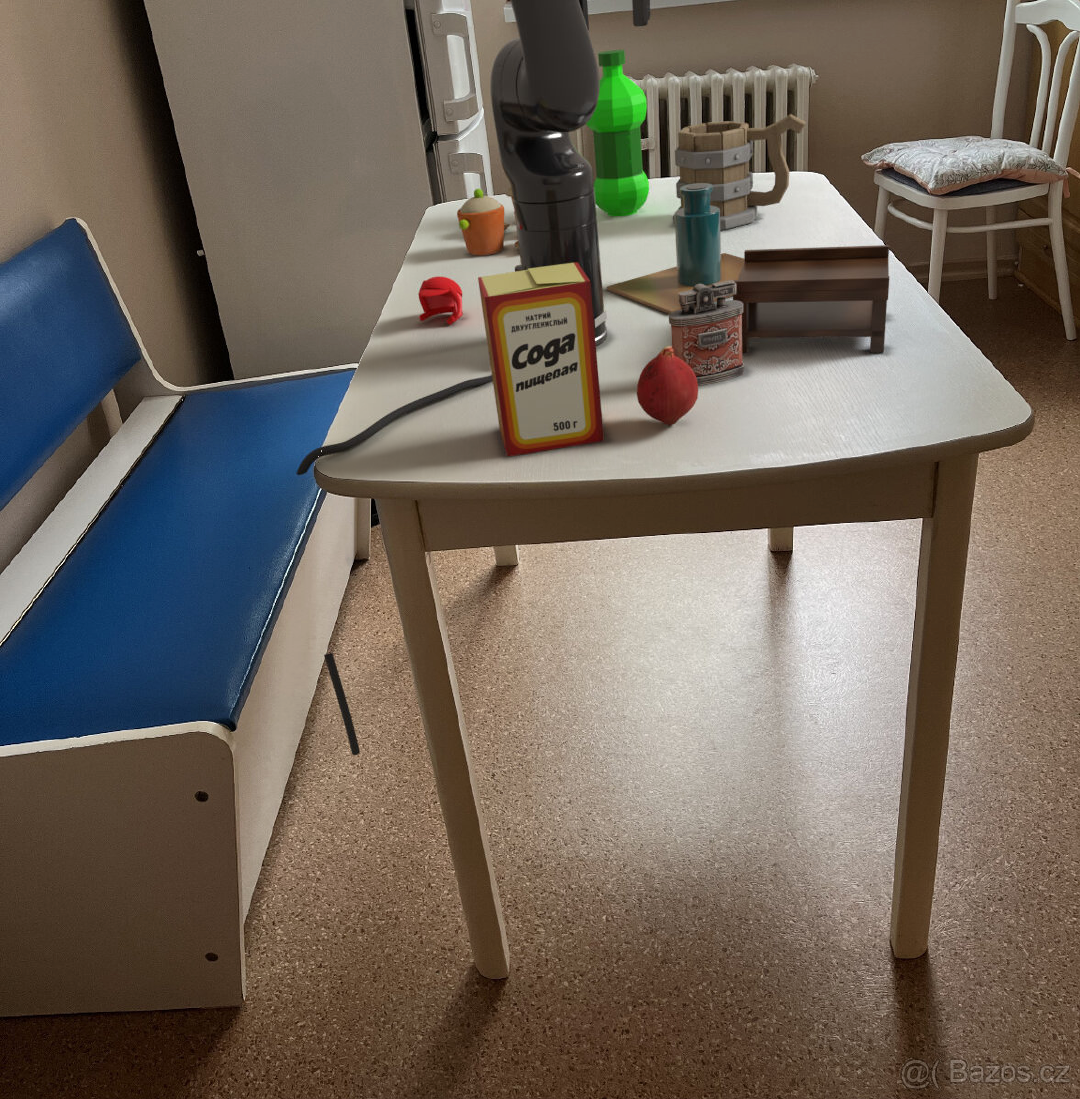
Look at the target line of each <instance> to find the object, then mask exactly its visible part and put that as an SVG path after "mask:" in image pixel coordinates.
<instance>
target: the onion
mask: <svg viewBox="0 0 1080 1099" xmlns="http://www.w3.org/2000/svg"><path fill="white" fill-rule="evenodd" d="M673 352H674V350H673V348H672V345H667V346H666V345H665V346H664V347H663V348H662V349H661V351H660V352H659V353H658V354H657V355H656V356H655V357H653V358H652V359H651V360H650V361H648V363H647V364H646V365H645V366H644V367H643V369H642V371H641V372H640V374H639V377H638V380H637V385H636V386H637V387H636V397H637V402H638V404H639V406H640V407H641V409H642V410H643V411H644V413H645V414H646V415H647V416H649V417H650V418H652V419H654V420H656V421H658V422H660V423H662V424H664V425H666V426H673V425H676V423H677V422H679V420H681V418H683V417H684V416H686V415H687V413H689V412H690V410H692V409H693V407H695V404H696V402H697V400H698V399H699V386H698V383H697V378H696V376H695V374H694V372H693V370H692V369H691V368H690V367H689V366H688V364H686V363H685V362H684V361H683V360H681V359H680V358H678V357H676V356H674V353H673Z"/></svg>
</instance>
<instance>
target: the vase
mask: <svg viewBox="0 0 1080 1099" xmlns="http://www.w3.org/2000/svg"><path fill="white" fill-rule="evenodd" d="M712 191H713V185H712V184H708V183H696V184H689V185H685V186H682V187H681V188H680V194H682V195H683V201H684V208H682V209H679V208H678V209H679V210H678V209H677V210H676V211H675V212H674V214H675V225H674V231H675V253H676V254H675V256H676V267H677V281H678V283H679V284H682V285H685V286H695V285H696V284H703V285H710V284H714V283H716V282H718V281H720V280H721V254H722V247H721V246H722V243H721V241H722V240H721V239H722V238H721V230H720V209H719V208H718V207H715V206H710V193H711V192H712Z"/></svg>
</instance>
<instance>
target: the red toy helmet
mask: <svg viewBox="0 0 1080 1099" xmlns="http://www.w3.org/2000/svg"><path fill="white" fill-rule="evenodd" d="M417 295H418V301H419V303H420V305H421V308H422V310H423V313H421V314H420V315H419V318H418V319H419V321H420V322H423V321H425V320H426V321H427V320H428V319H429V318H431V317H434V316H436V315H442V314H449V313H451V315H450V316H449V317H448V318H447V320H446V323H447V324H448V325H450V326H451V325H453V323H456V321H458V320H459V319H461V317H462V316H463V314H464V310H463V290H462V287H461V286H460V285H459V284H458V283H457V282H456V281H455V280H454V279H451V278H449V277H446V276H433V277H430V278H428V279H426V280H423V281H422V283H421V286H420V287H419V290H418V294H417Z"/></svg>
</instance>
